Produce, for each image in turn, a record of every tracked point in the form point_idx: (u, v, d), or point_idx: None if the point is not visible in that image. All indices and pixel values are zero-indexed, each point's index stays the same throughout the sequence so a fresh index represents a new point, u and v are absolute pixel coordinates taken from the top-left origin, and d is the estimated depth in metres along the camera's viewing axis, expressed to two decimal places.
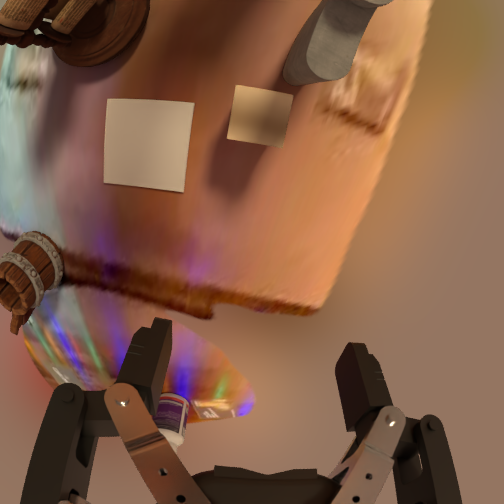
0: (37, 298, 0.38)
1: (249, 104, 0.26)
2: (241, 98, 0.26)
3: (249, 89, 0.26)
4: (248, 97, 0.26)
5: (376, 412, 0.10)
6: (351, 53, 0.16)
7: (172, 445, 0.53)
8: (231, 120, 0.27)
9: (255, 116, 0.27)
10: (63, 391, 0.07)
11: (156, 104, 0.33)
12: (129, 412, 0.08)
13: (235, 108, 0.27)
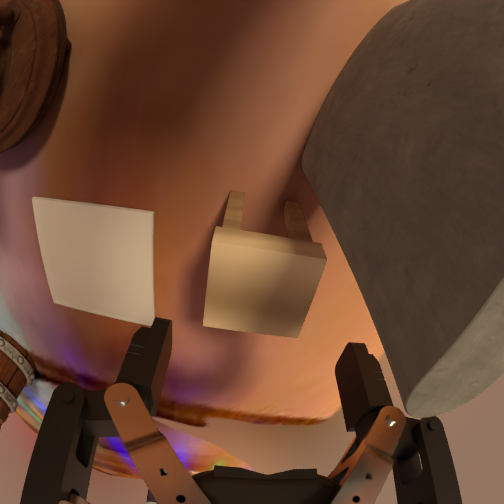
0: (11, 409, 0.27)
1: (240, 277, 0.15)
2: (224, 266, 0.15)
3: (239, 250, 0.14)
4: (238, 265, 0.15)
5: (376, 412, 0.10)
6: None
7: None
8: (207, 301, 0.16)
9: (251, 296, 0.16)
10: (63, 391, 0.07)
11: (97, 212, 0.21)
12: (129, 413, 0.08)
13: (213, 282, 0.15)
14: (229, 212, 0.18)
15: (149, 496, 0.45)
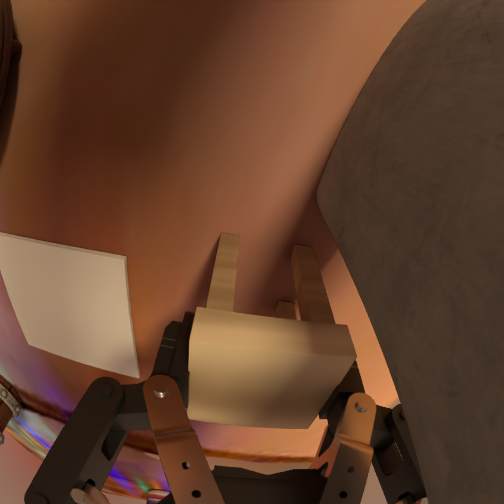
0: None
1: (233, 379, 0.10)
2: (210, 366, 0.10)
3: (231, 351, 0.09)
4: (229, 366, 0.10)
5: (346, 399, 0.10)
6: None
7: None
8: (190, 399, 0.11)
9: (249, 396, 0.11)
10: (102, 385, 0.08)
11: (59, 255, 0.16)
12: (165, 404, 0.08)
13: (197, 382, 0.10)
14: (218, 273, 0.13)
15: None
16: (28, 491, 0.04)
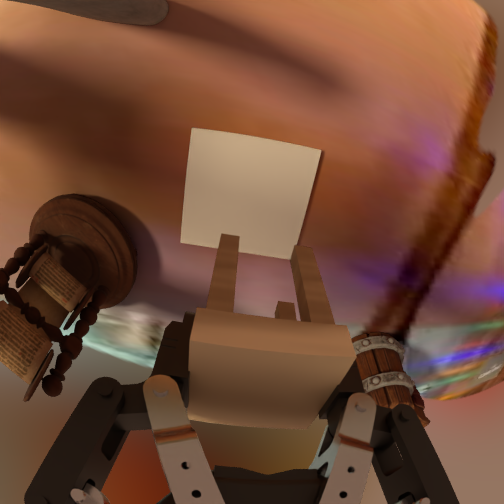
0: (405, 384, 0.31)
1: (233, 379, 0.10)
2: (210, 367, 0.10)
3: (231, 351, 0.09)
4: (229, 367, 0.10)
5: (346, 399, 0.10)
6: None
7: None
8: (190, 399, 0.11)
9: (249, 396, 0.11)
10: (102, 385, 0.08)
11: (191, 178, 0.28)
12: (165, 404, 0.08)
13: (197, 382, 0.10)
14: (218, 273, 0.13)
15: None
16: (28, 491, 0.04)
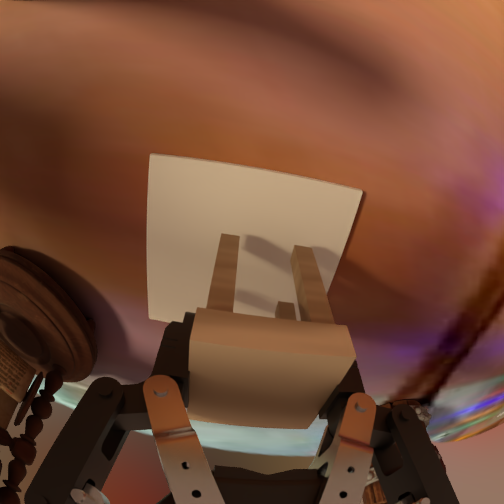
0: None
1: (233, 379, 0.10)
2: (210, 366, 0.10)
3: (231, 351, 0.09)
4: (229, 367, 0.10)
5: (346, 399, 0.10)
6: None
7: None
8: (190, 399, 0.11)
9: (249, 396, 0.11)
10: (102, 385, 0.08)
11: (155, 234, 0.18)
12: (165, 404, 0.08)
13: (197, 382, 0.10)
14: (218, 273, 0.13)
15: None
16: (28, 491, 0.04)
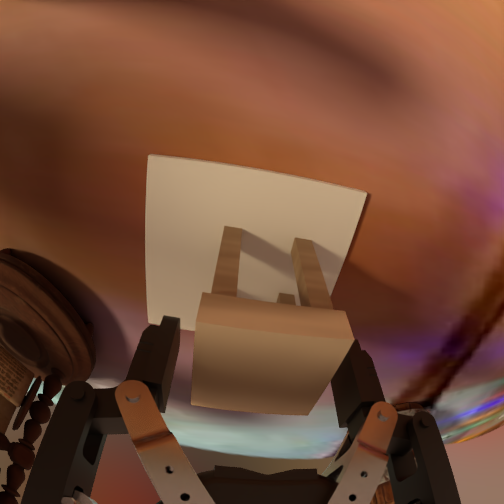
0: None
1: (236, 361, 0.11)
2: (214, 349, 0.10)
3: (235, 333, 0.10)
4: (233, 349, 0.10)
5: (368, 408, 0.10)
6: None
7: None
8: (194, 383, 0.11)
9: (252, 379, 0.11)
10: (74, 389, 0.08)
11: (154, 237, 0.17)
12: (139, 409, 0.08)
13: (201, 365, 0.11)
14: (222, 262, 0.13)
15: None
16: None
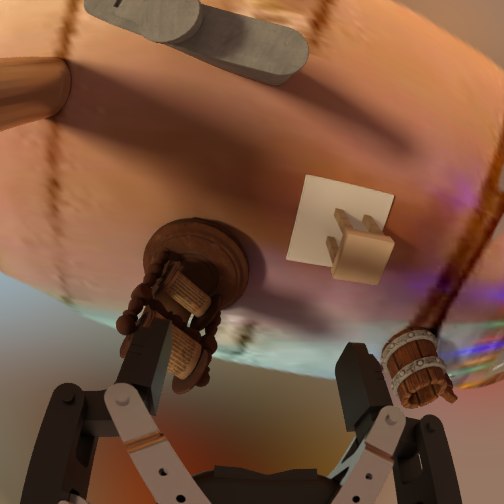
0: (440, 366, 0.40)
1: (357, 251, 0.31)
2: (351, 245, 0.30)
3: (359, 238, 0.30)
4: (357, 245, 0.30)
5: (376, 412, 0.10)
6: (270, 26, 0.13)
7: None
8: (339, 264, 0.31)
9: (360, 261, 0.31)
10: (63, 391, 0.07)
11: (302, 212, 0.37)
12: (129, 412, 0.08)
13: (344, 254, 0.31)
14: (343, 220, 0.33)
15: None
16: None
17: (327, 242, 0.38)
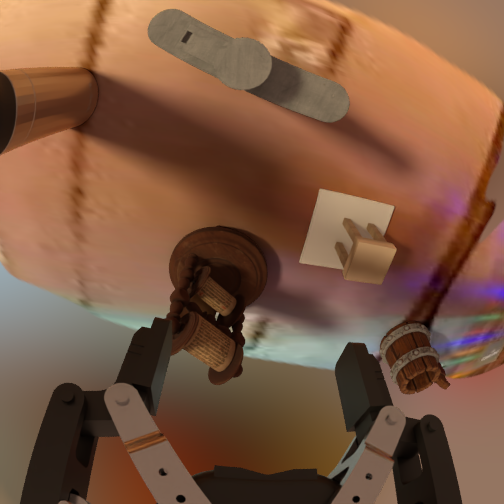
0: (434, 355, 0.46)
1: (365, 256, 0.36)
2: (361, 251, 0.35)
3: (368, 245, 0.35)
4: (366, 251, 0.35)
5: (376, 412, 0.10)
6: (320, 80, 0.18)
7: None
8: (350, 267, 0.37)
9: (368, 264, 0.36)
10: (63, 391, 0.07)
11: (315, 221, 0.42)
12: (129, 412, 0.08)
13: (355, 259, 0.36)
14: (353, 229, 0.39)
15: None
16: None
17: (336, 247, 0.43)
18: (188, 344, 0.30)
